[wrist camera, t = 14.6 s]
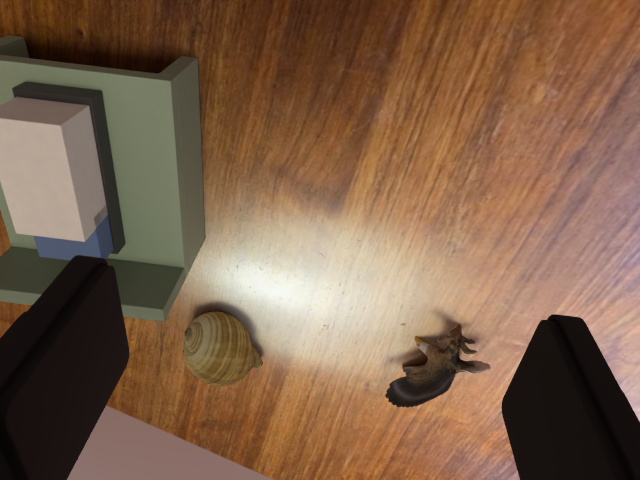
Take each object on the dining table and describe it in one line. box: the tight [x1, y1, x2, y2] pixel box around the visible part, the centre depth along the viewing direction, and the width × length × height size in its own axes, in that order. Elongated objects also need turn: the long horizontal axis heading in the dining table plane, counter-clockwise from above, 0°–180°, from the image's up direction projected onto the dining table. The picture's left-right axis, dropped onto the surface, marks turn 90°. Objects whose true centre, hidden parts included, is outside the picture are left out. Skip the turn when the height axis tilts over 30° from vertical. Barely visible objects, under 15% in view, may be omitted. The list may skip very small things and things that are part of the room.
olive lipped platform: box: [0, 35, 205, 322], centre depth 36 cm, size 16×14×11 cm
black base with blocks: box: [0, 81, 126, 260], centre depth 33 cm, size 12×5×5 cm, turn 175°
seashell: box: [183, 312, 263, 386], centre depth 50 cm, size 10×7×8 cm
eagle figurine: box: [385, 324, 491, 407], centre depth 48 cm, size 8×7×9 cm
